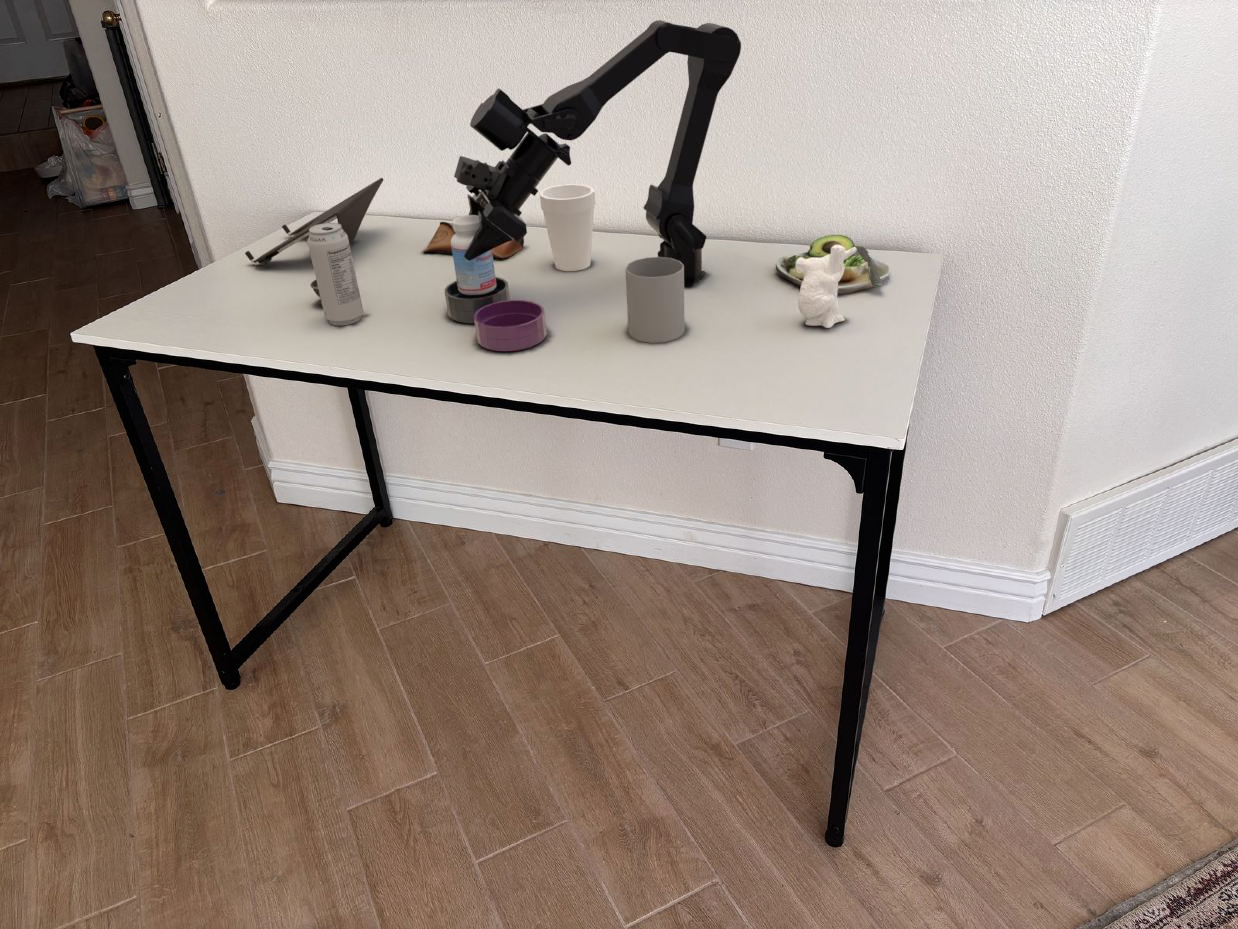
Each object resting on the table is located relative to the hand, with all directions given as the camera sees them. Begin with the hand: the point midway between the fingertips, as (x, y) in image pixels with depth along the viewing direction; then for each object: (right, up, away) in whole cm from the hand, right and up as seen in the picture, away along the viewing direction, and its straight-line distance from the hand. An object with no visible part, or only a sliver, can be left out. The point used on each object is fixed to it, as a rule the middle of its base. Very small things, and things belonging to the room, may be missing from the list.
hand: (463, 252), depth 143 cm
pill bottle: (+2, -5, +4) cm, 7 cm away
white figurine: (+54, -12, -5) cm, 56 cm away
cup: (+30, -13, -4) cm, 33 cm away
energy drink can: (-20, -10, +6) cm, 23 cm away
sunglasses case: (-3, +7, +32) cm, 33 cm away
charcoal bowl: (+2, -8, +6) cm, 10 cm away
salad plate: (+60, -1, +12) cm, 61 cm away
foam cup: (+16, +3, +22) cm, 27 cm away
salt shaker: (-24, -6, +13) cm, 28 cm away
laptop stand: (-34, +8, +36) cm, 50 cm away
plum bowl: (+8, -14, -4) cm, 16 cm away
